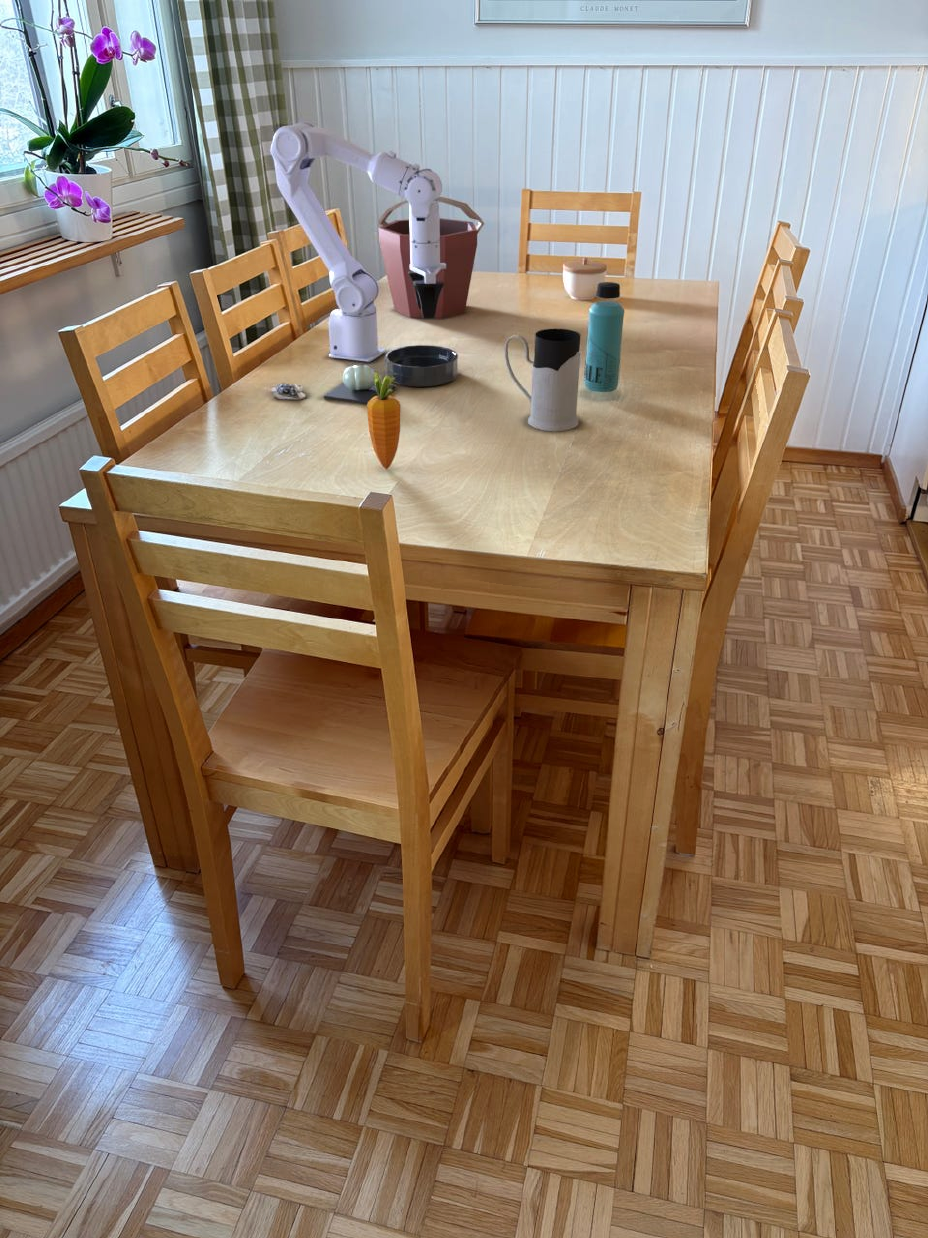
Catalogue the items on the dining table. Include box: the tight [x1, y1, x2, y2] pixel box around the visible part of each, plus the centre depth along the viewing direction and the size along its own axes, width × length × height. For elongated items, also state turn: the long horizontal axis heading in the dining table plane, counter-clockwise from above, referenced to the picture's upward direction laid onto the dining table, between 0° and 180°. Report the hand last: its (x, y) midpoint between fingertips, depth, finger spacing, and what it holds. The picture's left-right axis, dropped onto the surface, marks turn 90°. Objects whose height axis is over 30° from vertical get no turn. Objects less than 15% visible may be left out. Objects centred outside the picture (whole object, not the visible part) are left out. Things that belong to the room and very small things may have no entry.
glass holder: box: [504, 328, 582, 432], centre depth 159 cm, size 9×14×15 cm, turn 58°
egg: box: [342, 364, 376, 390], centre depth 173 cm, size 6×4×4 cm
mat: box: [323, 381, 397, 405], centre depth 174 cm, size 10×10×1 cm
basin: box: [384, 344, 459, 388], centre depth 181 cm, size 14×14×4 cm
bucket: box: [378, 196, 485, 320], centre depth 217 cm, size 24×22×25 cm
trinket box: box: [562, 257, 608, 301], centre depth 232 cm, size 11×11×9 cm
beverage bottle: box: [583, 281, 625, 393], centre depth 168 cm, size 6×7×20 cm
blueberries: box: [270, 382, 307, 401], centre depth 173 cm, size 7×8×2 cm
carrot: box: [366, 372, 401, 470], centre depth 141 cm, size 5×5×15 cm
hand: (426, 312), depth 186 cm, fingers open, 7 cm apart
